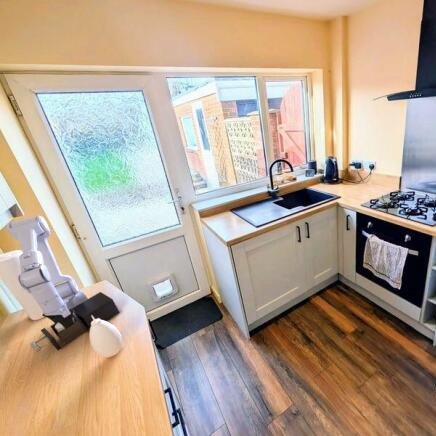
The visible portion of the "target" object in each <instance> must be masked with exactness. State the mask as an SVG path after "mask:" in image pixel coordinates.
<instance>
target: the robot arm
mask: <svg viewBox="0 0 436 436" xmlns="http://www.w3.org/2000/svg"><path fill="white" fill-rule="evenodd" d="M6 230H7V232H8V234H9V235H10V236H11V237H12V238H14V240H16V241H18V243H19V246H20V248H21V249H20V250H22V252H23V253H22V254H21V255H20V256H19V261H20V268H21V275H19V276H18V280H19V283H20V285H21V286H22V287H23V288H24V289H25V290H26V291H27V292H28V293H31V294H32V296H33V297H34V298H35V300H36V301H37V303H38V304H39V306H40V307H41V309H42V310H43V313H44V314H43V315H42V316H44V318H47V319H49V320H50V321H51V322H53V324H57V323H60V324H61V325H62V326H63V327H64V328H68V327H69V326H71V325H72V324H73V323H74V322H73V314H74V315H75V313H74V312H73V309H72V308H74V307H75V306H77V305H79V304H80V303H82V302H84V301H86V300H87V299H89V298H88V297H87V295H86V293H85V292H84V291H82V289H79V286H78V284H77V282H76V280H75V279H74V277H73V276H71V275H67V274H66V275H65V274H62V272H61V269H60V267H59V265H58V263H57V262H58V261H57V259H56V257H55V256H54V253H53V251H52V249H51V247H50V243H49V240H48V238H49V237H50V236H51V235H52V234H51V230H50V227H49V225H48V223H47V221H46V219H45V218H44V216H41V215H36V216H32V217H28V218H25V219H21V220H17V221H13V222H8V223H7V225H6ZM75 316H76V315H75ZM76 317H77V316H76Z"/></svg>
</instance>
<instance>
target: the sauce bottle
mask: <svg viewBox="0 0 436 436" xmlns="http://www.w3.org/2000/svg"><path fill="white" fill-rule="evenodd" d="M92 318H93V321H92V322H91V328H90V330H89V343H90V345H91V348H92V349H93V351H94V352H95V353H96V354H97V355H98V356H100V357H103V358H111V357H114V356H115V355H117V354H118V353H119V352H120V351H121V349H122V347H123V338H122V337H123V336H122V335H121V332H120V331H119V329H118V328H117V327H116V326H115V325H114V324H112V323H111V322H109V321H104V320H100V319H95V318H94V317H93V316H92Z"/></svg>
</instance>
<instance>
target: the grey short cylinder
mask: <svg viewBox="0 0 436 436" xmlns="http://www.w3.org/2000/svg"><path fill="white" fill-rule="evenodd" d="M73 322H75V320H74V319H73ZM55 328H56V330H57V331H58V332H60V331H62V330H63V329H65V328H64V327H63V326H62V325H61V324H60V323H57V324H56V325H55Z"/></svg>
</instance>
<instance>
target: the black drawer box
mask: <svg viewBox="0 0 436 436" xmlns="http://www.w3.org/2000/svg"><path fill="white" fill-rule="evenodd" d="M72 309H73V312H74V313H75V315H76V316H77V318H79V319H80V320H81V321H82V323H83V325H84V326H85V328H86V329H87V330H89V331H90V328H91V322H92V321H93V318H92V316H93V317H94V318H95V319H100V320H104V321H107V322H109V321H110V320H111V319H113V318H114V317H116V316H117V315H119V314H120V310H119V309H118V307H117V305H116V303H115V301H114V299H113V298H112V297H110V296H108V295H106V294H105V293H104V292H101V291H99V292H97V293H96V294H94V295H92V296H91V297H89V298H88V299H87V300H86V301H84V302H82V303H80V304H79V305H77V306H75V307H74V308H72Z"/></svg>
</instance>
